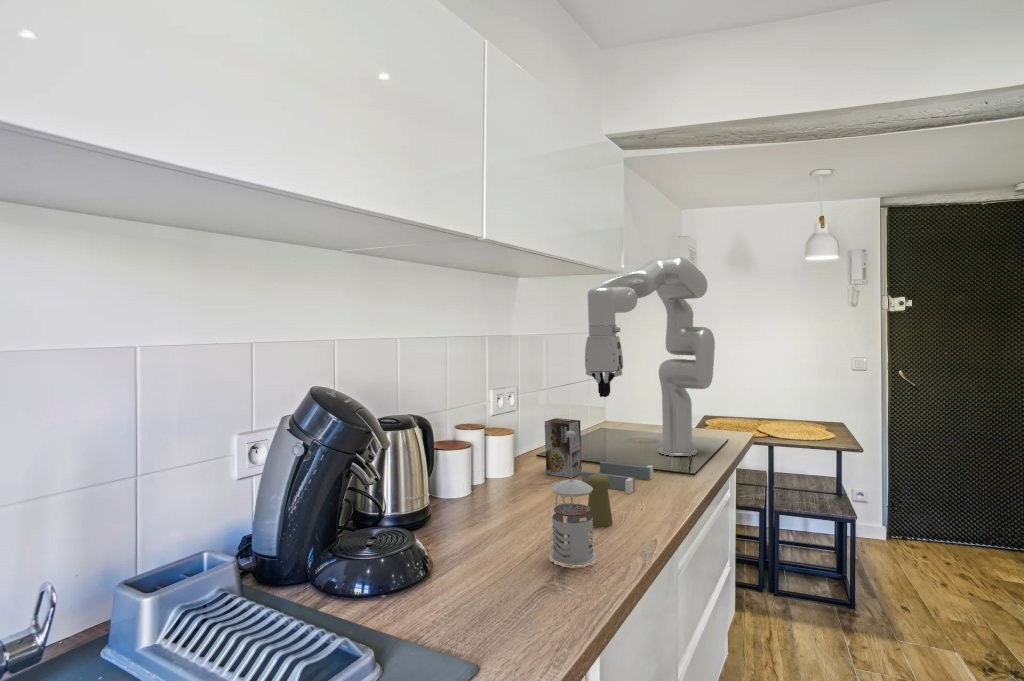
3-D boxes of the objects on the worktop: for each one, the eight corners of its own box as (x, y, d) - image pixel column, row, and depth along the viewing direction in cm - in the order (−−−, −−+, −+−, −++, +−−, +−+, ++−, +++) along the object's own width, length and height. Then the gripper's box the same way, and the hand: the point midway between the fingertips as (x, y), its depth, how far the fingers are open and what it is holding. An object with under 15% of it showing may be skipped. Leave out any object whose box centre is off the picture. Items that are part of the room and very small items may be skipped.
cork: (616, 520, 138) (615, 473, 137) (606, 529, 133) (605, 479, 132) (592, 517, 141) (591, 470, 140) (581, 525, 136) (580, 476, 135)
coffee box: (582, 473, 179) (581, 420, 179) (570, 478, 174) (569, 423, 174) (557, 469, 185) (556, 417, 184) (545, 474, 180) (543, 420, 179)
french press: (558, 571, 111) (555, 437, 110) (538, 548, 123) (535, 426, 122) (607, 564, 114) (604, 433, 113) (582, 542, 125) (580, 423, 124)
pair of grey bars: (604, 471, 181) (604, 459, 181) (653, 477, 173) (653, 465, 173) (578, 486, 166) (577, 474, 166) (629, 494, 158) (629, 480, 158)
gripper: (632, 330, 169) (634, 395, 170) (583, 331, 177) (586, 393, 178) (622, 332, 163) (624, 399, 164) (572, 332, 171) (574, 397, 172)
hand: (604, 396), depth 171 cm, fingers closed
